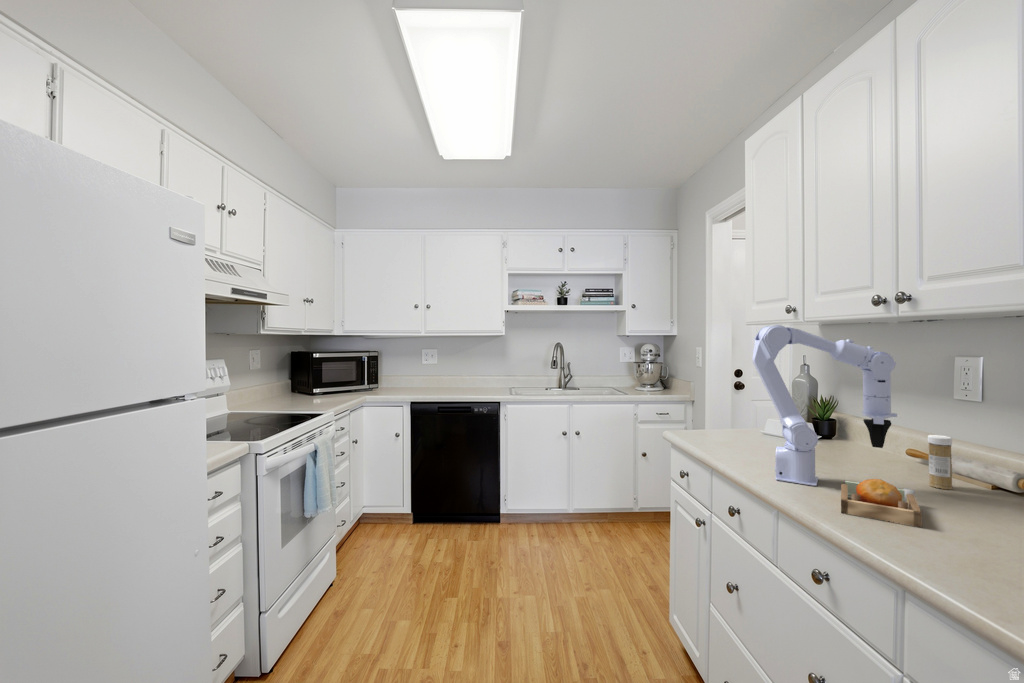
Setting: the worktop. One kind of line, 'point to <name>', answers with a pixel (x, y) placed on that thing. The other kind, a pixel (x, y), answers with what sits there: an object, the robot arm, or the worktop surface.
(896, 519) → the cradle
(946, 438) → the sprinkles bottle
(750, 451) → the worktop surface
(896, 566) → the worktop surface
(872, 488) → the fruit
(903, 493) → the gate
